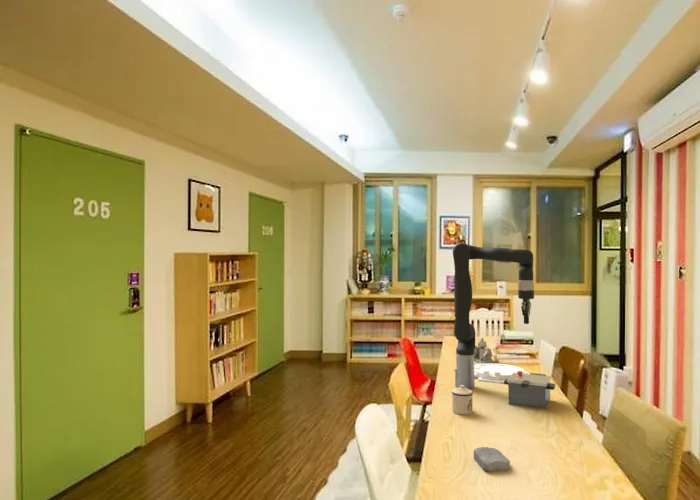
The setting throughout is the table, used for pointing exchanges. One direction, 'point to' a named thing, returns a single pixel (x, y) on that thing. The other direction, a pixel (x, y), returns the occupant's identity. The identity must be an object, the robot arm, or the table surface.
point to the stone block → (491, 459)
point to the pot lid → (529, 379)
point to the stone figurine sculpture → (482, 353)
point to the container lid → (494, 372)
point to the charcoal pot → (529, 395)
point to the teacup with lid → (462, 400)
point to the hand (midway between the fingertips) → (526, 323)
